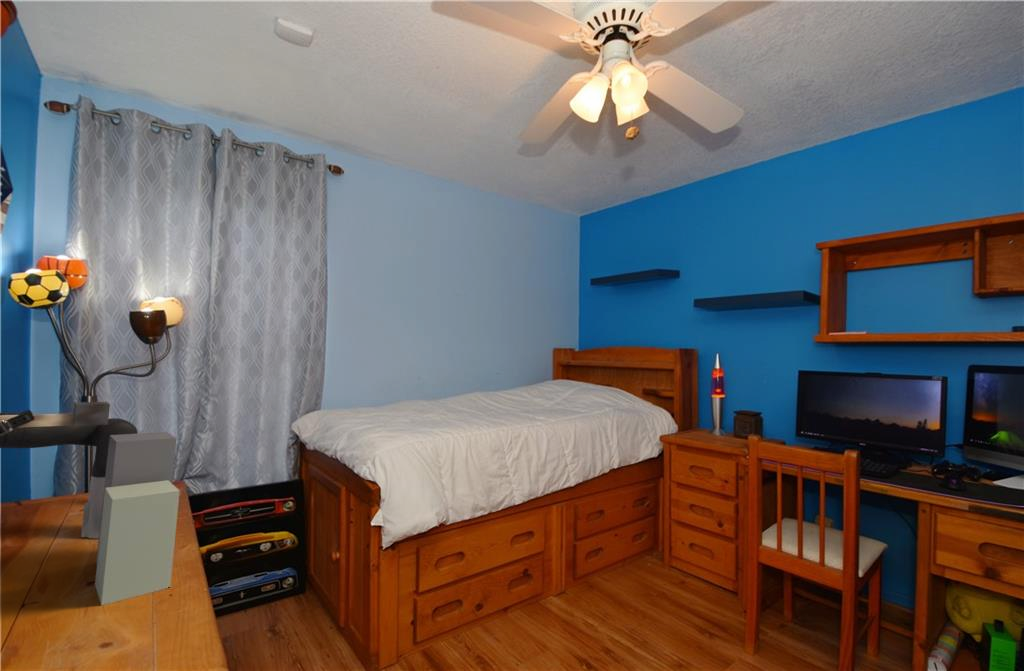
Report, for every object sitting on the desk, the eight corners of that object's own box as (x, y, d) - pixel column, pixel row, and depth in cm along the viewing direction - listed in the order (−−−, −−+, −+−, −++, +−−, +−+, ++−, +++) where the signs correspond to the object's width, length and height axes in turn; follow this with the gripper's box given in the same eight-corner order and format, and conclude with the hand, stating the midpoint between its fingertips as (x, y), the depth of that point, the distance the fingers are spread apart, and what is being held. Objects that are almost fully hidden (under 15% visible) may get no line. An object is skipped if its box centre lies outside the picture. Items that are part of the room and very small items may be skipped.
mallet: (-17, 429, 98) (-14, 406, 98) (-16, 426, 102) (-13, 403, 102) (107, 424, 112) (110, 404, 112) (104, 421, 116) (106, 401, 117)
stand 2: (101, 605, 98) (112, 499, 99) (94, 585, 106) (105, 487, 107) (170, 587, 106) (179, 490, 108) (159, 570, 114) (168, 480, 116)
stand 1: (102, 578, 109) (116, 442, 111) (96, 562, 117) (109, 435, 119) (164, 564, 118) (176, 438, 120) (154, 550, 126) (166, 431, 128)
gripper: (-98, 449, 88) (22, 402, 99) (-86, 439, 97) (22, 397, 109) (-71, 481, 90) (43, 432, 101) (-62, 468, 99) (41, 424, 111)
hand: (31, 414), depth 105 cm, fingers closed on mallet, 3 cm apart
